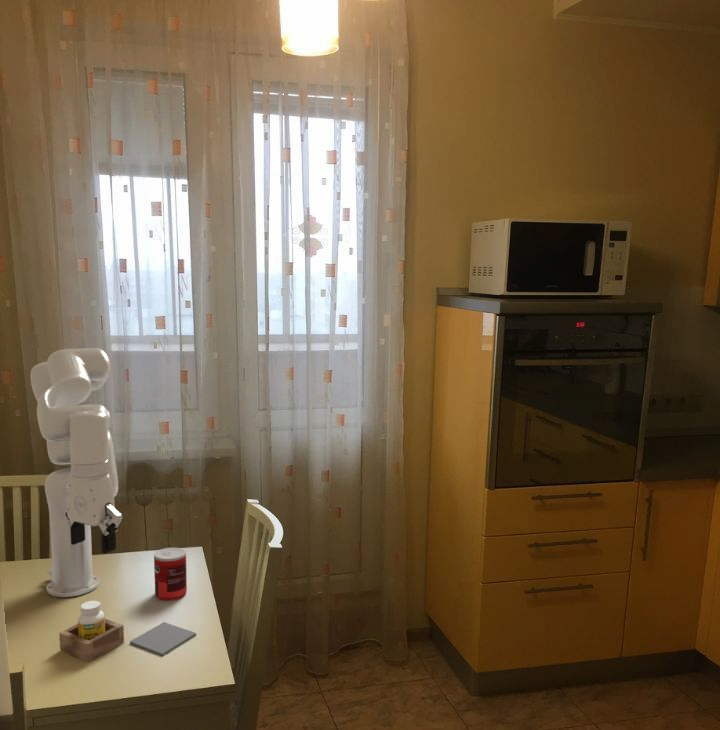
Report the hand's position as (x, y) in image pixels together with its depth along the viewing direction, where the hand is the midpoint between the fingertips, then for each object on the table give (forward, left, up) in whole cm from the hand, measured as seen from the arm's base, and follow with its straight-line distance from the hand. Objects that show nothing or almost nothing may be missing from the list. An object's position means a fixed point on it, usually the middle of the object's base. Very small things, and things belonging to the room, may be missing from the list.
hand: (93, 546), depth 141 cm
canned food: (-5, +26, -23) cm, 35 cm away
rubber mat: (+10, +9, -22) cm, 26 cm away
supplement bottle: (-1, -1, -23) cm, 23 cm away
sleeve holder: (-1, -1, -22) cm, 23 cm away
